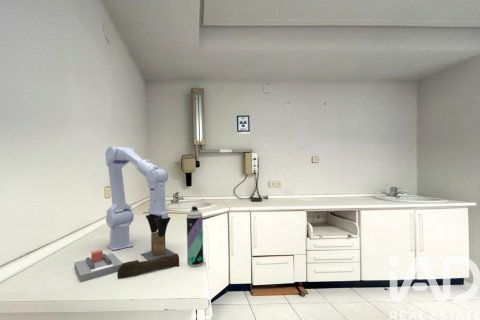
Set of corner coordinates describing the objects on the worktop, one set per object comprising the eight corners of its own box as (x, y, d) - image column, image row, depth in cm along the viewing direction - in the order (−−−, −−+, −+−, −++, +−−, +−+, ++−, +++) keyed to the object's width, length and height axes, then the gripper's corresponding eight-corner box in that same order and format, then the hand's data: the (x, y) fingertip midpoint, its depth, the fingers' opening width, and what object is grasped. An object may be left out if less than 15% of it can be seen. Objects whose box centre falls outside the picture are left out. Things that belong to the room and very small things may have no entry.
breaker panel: (74, 268, 81) (74, 258, 81) (112, 258, 89) (112, 250, 89) (80, 282, 70) (80, 271, 70) (123, 269, 78) (123, 260, 78)
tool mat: (140, 254, 92) (140, 253, 92) (165, 248, 98) (165, 247, 98) (150, 262, 84) (150, 261, 84) (176, 254, 91) (176, 253, 91)
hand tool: (177, 263, 83) (177, 250, 84) (180, 267, 80) (179, 253, 80) (117, 276, 74) (117, 261, 75) (117, 281, 71) (117, 265, 71)
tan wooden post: (151, 253, 91) (151, 233, 92) (161, 251, 94) (160, 231, 94) (155, 256, 88) (155, 235, 89) (165, 253, 91) (165, 233, 91)
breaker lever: (91, 260, 81) (91, 251, 81) (101, 258, 83) (101, 249, 83) (92, 262, 79) (92, 253, 80) (102, 260, 81) (102, 251, 82)
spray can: (186, 262, 83) (185, 205, 84) (201, 259, 85) (200, 204, 86) (188, 268, 78) (187, 208, 79) (204, 265, 80) (203, 206, 81)
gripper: (175, 200, 89) (175, 235, 89) (159, 196, 100) (160, 228, 100) (157, 202, 84) (157, 239, 84) (143, 198, 95) (143, 232, 95)
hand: (157, 234), depth 92 cm, fingers open, 7 cm apart
